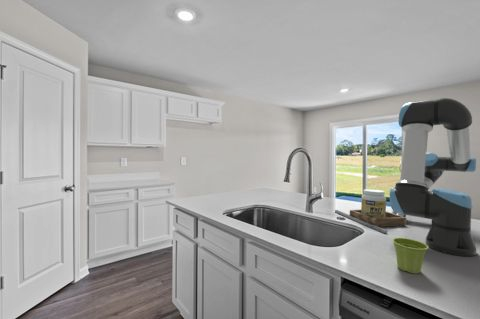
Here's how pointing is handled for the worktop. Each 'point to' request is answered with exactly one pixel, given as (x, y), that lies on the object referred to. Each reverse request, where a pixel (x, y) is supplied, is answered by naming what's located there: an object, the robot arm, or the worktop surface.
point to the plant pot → (409, 254)
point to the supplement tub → (373, 203)
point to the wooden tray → (380, 219)
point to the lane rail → (362, 222)
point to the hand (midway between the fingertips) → (396, 214)
